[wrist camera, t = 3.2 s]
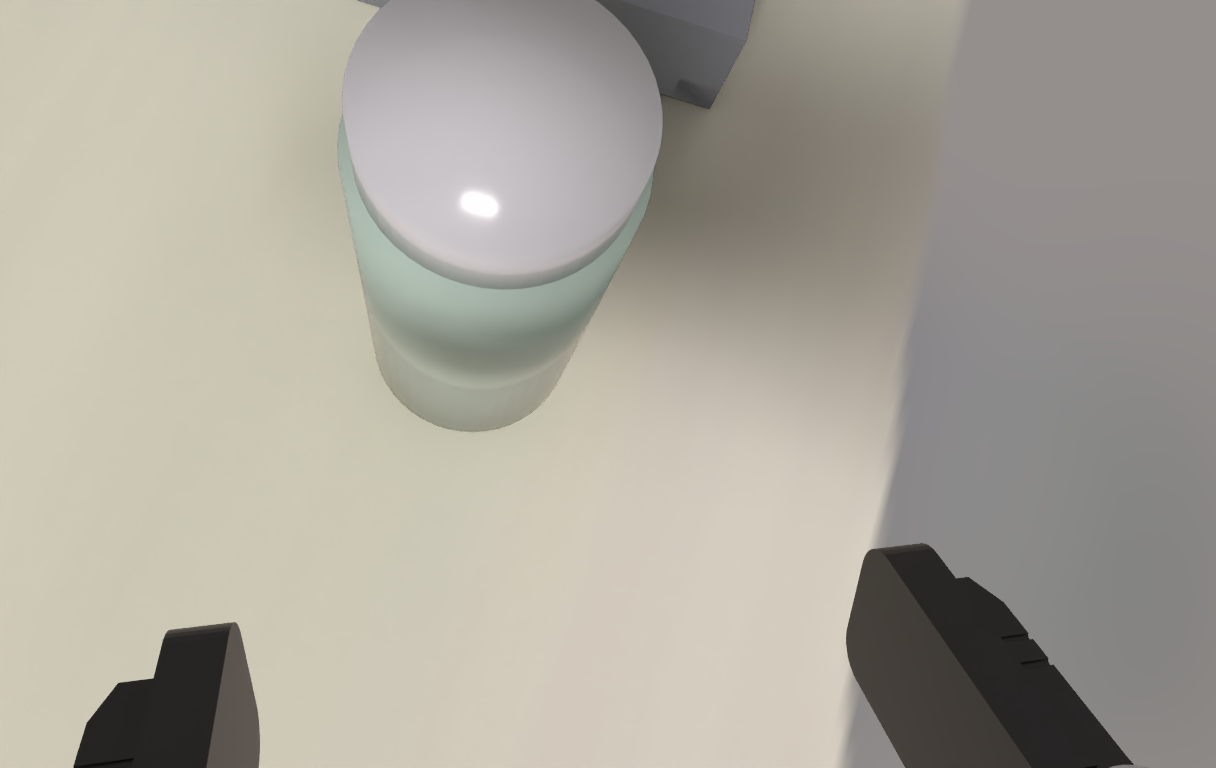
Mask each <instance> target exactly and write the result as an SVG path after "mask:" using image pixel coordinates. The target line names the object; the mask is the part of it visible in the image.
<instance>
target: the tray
mask: <svg viewBox="0 0 1216 768" xmlns="http://www.w3.org/2000/svg"><path fill="white" fill-rule="evenodd" d="M359 1H362V2H365V3H368V4H372V5H375V6H378V7H381V8H382V7H383V6H384V5H385V4H386V3H388V2H389V1H390V0H359ZM596 1H597V2H599V3H600V4H601V5H602V6H604V7H605V8H606V9H607V10H608V11H610V12H611V13H612V14H613V15H614V16H615V17H616V18H617V19H618V20H619V21H620V22H621V23H622V24H623V25H624V26H625V27H626V28H627V29H628V31H629V32H630V33H631V35H632V36H633V37H634V39H635V40H636V41H637V43H638V44H639V46H640V47H641V49H642V51H643V53H644V54H645V56H646V58H647V60H648V61H649V64H650V66H651V69H652V71H653V74H654V76H655V78H656V82H657V86H658V89H659V93H660V94H663V95H666V96H670V97H673V98H676V99H679V100H682V101H686V102H689V103H692V104H695V105H699V106H702V107H705V108H708V109H710V107H711V105H712V103H713V101H714V99H715V98H716V96H717V94H718V92H719V90H720V88H721V87H722V85H723V83H724V81H725V79H726V77H727V75H728V74H729V72H730V70H731V68H732V66H733V64H734V62H735V61H736V59H737V57H738V55H739V53H740V51H741V50H742V48H743V46H744V44H745V42H746V40H747V35H748V30H749V26H750V21H751V16H752V11H753V7H754V2H755V0H596Z"/></svg>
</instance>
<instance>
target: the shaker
mask: <svg viewBox="0 0 1216 768" xmlns="http://www.w3.org/2000/svg"><path fill="white" fill-rule="evenodd" d="M342 101H343V114H342V118H341V122H340V126H339V135H338V164H339V170H340V175H341V180H342V185H343V191H344V196H345V201H346V206H347V211H348V216H349V221H350V226H351V231H352V236H353V242H354V247H355V252H356V257H357V262H358V267H359V272H360V277H361V282H362V287H363V292H364V298H365V303H366V308H367V313H368V318H369V323H370V328H371V333H372V338H373V343H374V349H375V354H376V359H377V362H378V365H379V368H380V371H381V374H382V376H383V378H384V380H385V382H386V384H387V385H388V387H389V388H390V390H391V391H392V392H393V394H394V395H395V396H396V397H397V398H398V400H399V401H400V402H401V403H402V404H403V405H404V406H406V407H407V408H408V409H409V410H410V411H411V412H413V413H414V414H416V415H417V416H419V417H421V418H422V419H424V420H426V421H428V422H430V423H432V424H434V425H437V426H440V427H443V428H446V429H451V430H457V431H466V432H480V431H489V430H494V429H499V428H502V427H505V426H508V425H511V424H513V423H515V422H517V421H519V420H521V419H523V418H524V417H526V416H527V415H529V414H530V413H532V412H533V411H534V410H535V409H536V408H538V407H539V406H540V405H541V404H542V403H543V402H544V401H545V399H546V398H547V397H548V396H549V395H550V393H551V392H552V390H553V389H554V387H555V386H556V384H557V382H558V380H559V378H560V377H561V375H562V373H563V371H564V369H565V367H566V365H567V363H568V361H569V359H570V357H571V356H572V354H573V352H574V350H575V348H576V346H577V344H578V342H579V340H580V338H581V336H582V335H583V333H584V331H585V329H586V327H587V325H588V323H589V321H590V319H591V317H592V315H593V314H594V312H595V310H596V308H597V306H598V304H599V302H600V300H601V298H602V296H603V294H604V292H605V291H606V289H607V287H608V285H609V283H610V281H611V279H612V277H613V275H614V273H615V271H616V270H617V268H618V266H619V264H620V262H621V260H622V258H623V256H624V254H625V252H626V250H627V249H628V247H629V245H630V243H631V241H632V239H633V237H634V235H635V233H636V231H637V229H638V227H639V225H640V223H641V221H642V219H643V217H644V215H645V212H646V209H647V205H648V202H649V199H650V195H651V189H652V182H653V169H654V167H655V164H656V160H657V157H658V154H659V151H660V145H661V138H662V126H663V113H662V105H661V98H660V93H659V89H658V86H657V82H656V78H655V76H654V74H653V71H652V69H651V66H650V64H649V61H648V60H647V58H646V56H645V54H644V53H643V51H642V49H641V47H640V46H639V44H638V43H637V41H636V40H635V39H634V37H633V36H632V35H631V33H630V32H629V31H628V29H627V28H626V27H625V26H624V25H623V24H622V23H621V22H620V21H619V20H618V19H617V18H616V17H615V16H614V15H613V14H612V13H611V12H610V11H608V10H607V9H606V8H605V7H604V6H602V5H601V4H600V3H599V2H597V1H596V0H390V1H389V2H388V3H386V4H385V5H384V6H383V7H382V8H381V9H379V11H378V12H377V13H376V14H375V15H374V16H373V18H372V19H371V20H370V21H369V22H368V23H367V25H366V26H365V28H364V29H363V31H362V33H361V34H360V36H359V37H358V39H357V41H356V43H355V45H354V47H353V50H352V52H351V54H350V57H349V60H348V64H347V67H346V71H345V75H344V83H343V92H342Z"/></svg>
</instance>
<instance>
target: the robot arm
mask: <svg viewBox="0 0 1216 768" xmlns="http://www.w3.org/2000/svg"><path fill="white" fill-rule="evenodd" d="M846 645H847V653H848V658H849V662H850V666H851V669H852V671H853V674H854V676H855V678H856V680H857V682H858V684H859V685H860V687H861V689H862V691H863V692H864V694H865V696H866V698H867V700H868V702H869V703H870V705H871V707H872V709H873V711H874V712H875V714H876V716H877V718H878V720H879V721H880V723H881V725H882V727H883V728H884V730H885V732H886V734H887V735H888V737H889V739H890V741H891V743H892V745H893V746H894V748H895V750H896V752H897V754H898V755H899V757H900V759H901V761H902V763H903V764H904V766H905V768H1147V767H1143V766H1137V765H1134V764H1133V763H1132V762H1131V761H1130V760H1129V759H1128V757H1127V756H1126V755H1125V754H1124V753H1123V751H1122V750H1121V749H1120V747H1119V746H1118V745H1117V744H1116V742H1115V741H1114V740H1113V739H1112V737H1111V736H1110V735H1109V734H1108V732H1107V731H1106V730H1105V729H1104V728H1103V726H1102V725H1101V724H1100V722H1099V721H1098V720H1097V719H1096V717H1095V716H1094V715H1093V714H1092V713H1091V711H1090V710H1089V709H1088V708H1087V706H1086V705H1085V704H1084V703H1083V701H1082V700H1081V699H1080V697H1079V696H1078V695H1077V694H1076V692H1075V691H1074V690H1073V689H1072V687H1071V686H1070V685H1069V684H1068V682H1067V681H1066V680H1065V679H1064V677H1063V676H1062V675H1061V674H1060V672H1059V671H1058V670H1057V669H1056V667H1055V666H1054V665H1050V664H1049V662H1048V657H1047V656H1046V655H1045V654H1044V652H1043V651H1042V650H1041V649H1040V647H1039V646H1038V645H1037V643H1036V642H1035V641H1034V640H1033V639H1031V640H1030V639H1029V638H1028V632H1027V631H1026V630H1025V629H1024V627H1023V626H1022V625H1021V624H1020V622H1019V621H1018V620H1017V618H1016V617H1015V616H1014V615H1013V614H1012V612H1011V611H1010V610H1009V608H1008V607H1007V606H1006V605H1005V604H1004V602H1002V601H1001V600H1000V599H998V598H997V597H996V596H994V595H993V594H991V593H990V592H988V591H987V590H986V589H984V588H983V587H981V586H980V585H978V584H977V583H976V582H974V581H973V580H972V579H970V578H969V577H965V578H957V579H956V578H955V577H954V575H953V574H952V573H951V571H950V570H949V569H948V567H947V566H946V565H945V563H944V562H943V561H942V560H941V558H940V557H939V556H938V554H937V553H936V552H935V551H934V549H932V548H931V547H930V546H929V545H927V544H923V543H920V544H912V545H904V546H895V547H887V548H878V549H871V550H870V551H868V552H867V554H866V555H865V557H864V560H863V564H862V568H861V572H860V577H859V581H858V585H857V589H856V594H855V598H854V602H853V606H852V610H851V615H850V619H849V623H848V627H847V634H846ZM259 754H260V732H259V718H258V711H257V705H256V701H255V696H254V692H253V687H252V683H251V678H250V673H249V669H248V664H247V660H246V655H245V651H244V646H243V641H242V637H241V633H240V629H239V626H238V625H237V623H236V622H233V623H224V624H216V625H208V626H199V627H191V628H182V629H174V630H169V631H167V633H166V634H165V637H164V639H163V643H162V647H161V651H160V655H159V659H158V663H157V667H156V671H155V675H154V679H146V680H138V681H130V682H122V683H118V684H117V685H116V687H115V688H114V689H113V691H112V692H111V693H110V694H109V696H108V697H107V698H106V699H105V701H104V702H103V703H102V704H101V706H100V707H99V708H98V709H97V711H96V712H95V713H94V715H93V716H92V717H91V718H90V720H89V721H88V722H87V724H86V727H85V730H84V734H83V737H82V740H81V743H80V747H79V750H78V753H77V756H76V760H75V763H74V766H73V767H74V768H258V767H259Z"/></svg>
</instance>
